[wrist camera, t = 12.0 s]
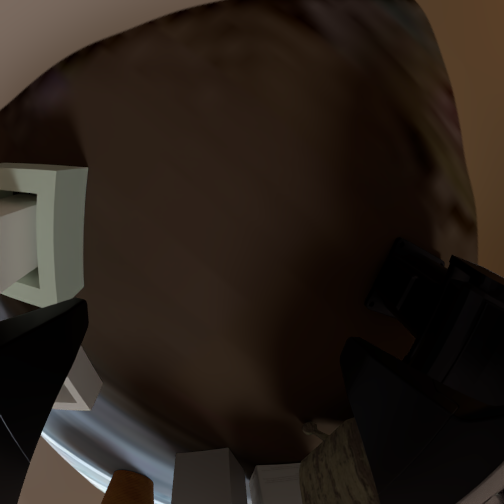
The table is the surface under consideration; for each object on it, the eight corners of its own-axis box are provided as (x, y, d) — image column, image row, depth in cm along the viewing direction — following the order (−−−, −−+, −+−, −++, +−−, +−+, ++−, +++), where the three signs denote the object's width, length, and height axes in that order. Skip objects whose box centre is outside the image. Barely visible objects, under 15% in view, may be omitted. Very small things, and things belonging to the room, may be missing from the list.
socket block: (88, 167, 18) (56, 170, 14) (83, 286, 20) (58, 312, 16) (4, 162, 17) (-30, 167, 12) (5, 266, 19) (-23, 284, 15)
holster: (66, 315, 21) (45, 339, 17) (103, 383, 24) (91, 410, 20) (15, 324, 21) (-5, 344, 17) (50, 384, 24) (36, 407, 20)
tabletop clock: (285, 428, 27) (331, 628, 4) (333, 373, 25) (434, 606, 1) (372, 439, 30) (435, 579, 7) (417, 394, 28) (508, 538, 4)
